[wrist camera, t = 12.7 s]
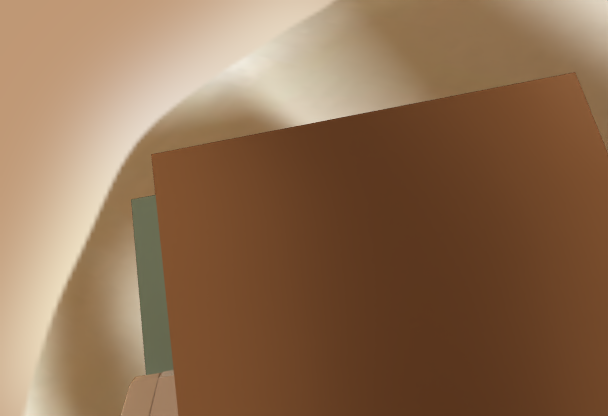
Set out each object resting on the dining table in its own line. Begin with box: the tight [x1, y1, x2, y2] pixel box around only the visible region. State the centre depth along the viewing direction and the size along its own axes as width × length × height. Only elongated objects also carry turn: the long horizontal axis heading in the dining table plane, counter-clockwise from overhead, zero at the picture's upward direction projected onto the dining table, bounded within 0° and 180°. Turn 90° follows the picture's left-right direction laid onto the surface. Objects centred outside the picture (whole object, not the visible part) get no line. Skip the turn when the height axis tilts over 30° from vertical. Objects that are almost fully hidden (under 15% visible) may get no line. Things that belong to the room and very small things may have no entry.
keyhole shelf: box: [131, 195, 174, 375], centre depth 21 cm, size 18×14×14 cm
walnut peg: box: [151, 72, 608, 416], centre depth 13 cm, size 6×6×15 cm
